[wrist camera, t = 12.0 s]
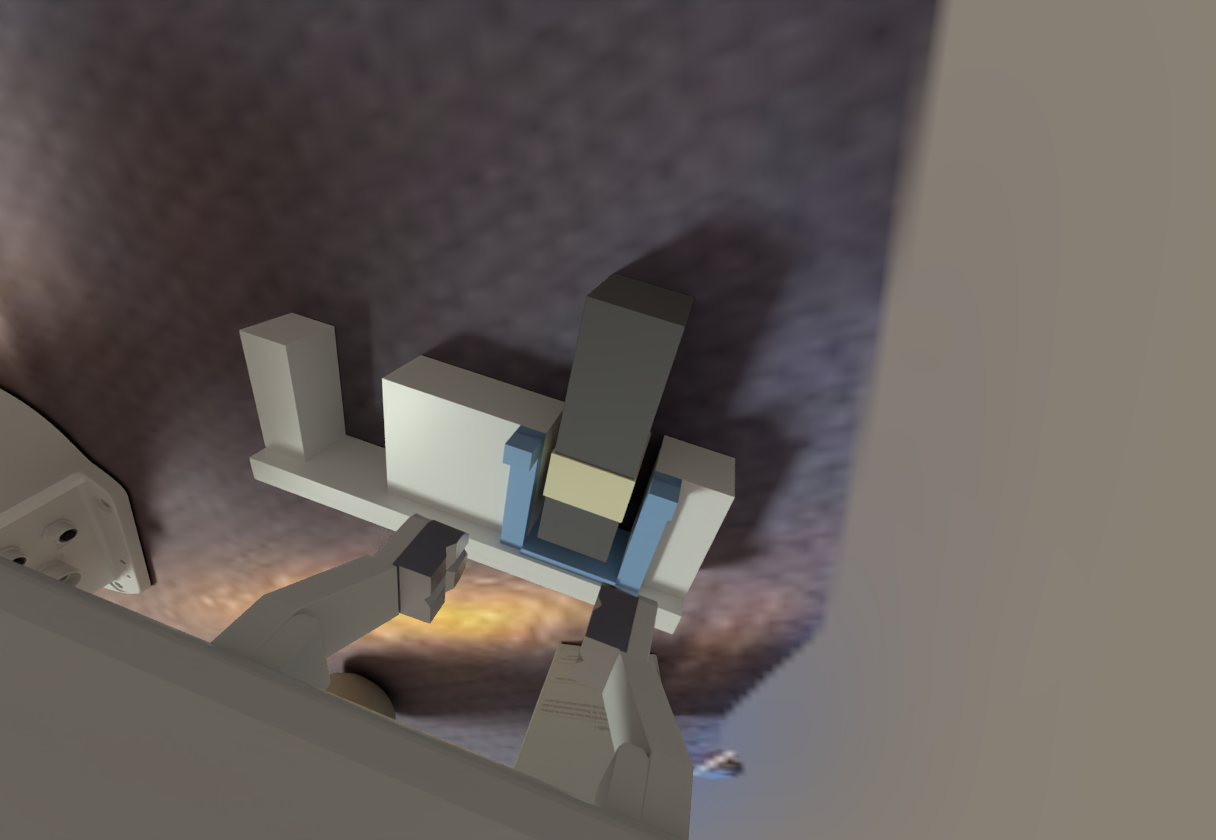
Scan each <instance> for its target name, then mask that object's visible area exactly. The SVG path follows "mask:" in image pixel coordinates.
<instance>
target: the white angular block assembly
mask: <svg viewBox="0 0 1216 840" xmlns="http://www.w3.org/2000/svg"><path fill="white" fill-rule="evenodd" d="M239 333H240V337H241V342H242V346H243V350H244V355H245V359H246V363H247V368H248V372H249V377H250V381H251V385H252V390H253V394H254V399H255V403H256V407H257V412H258V416H259V421H260V425H261V429H262V434H263V438H264V443H265V447H266V448H264V449H263V450H261V451H259V452H258V453H256V454H254V455H252V456H251V457H249V459H250V463H251V467H252V471H253V475H254V479H257V480H259V481H262V482H265V483H267V484H270V485H273V486H275V487H278V488H281V489H283V490H286V491H289V492H291V493H294V494H297V495H300V496H302V497H305V498H308V499H310V500H313V501H316V502H318V503H321V504H324V505H326V506H329V507H332V508H334V509H337V510H340V511H342V512H345V513H348V514H351V515H353V516H356V517H359V518H361V519H364V520H367V521H369V522H372V523H375V524H377V525H380V526H383V527H385V528H388V529H391V530H394V531H397V530H398V529H399V528H400V527H401V526H402V525H403V524H404V522H405V521H406V520H407V519H408V518H409V517H410V516H412V515H414V514H416V513H417V514H420V515H422V516H425V517H428V518H430V519H433V520H436V521H438V522H441V523H443V524H446V525H448V526H451V527H453V528H456V529H458V530H461V531H463V532H466V533H468V534H469V543H468V544H467V545H466V547H465V548H464V549H465V551H466V552H467V554H468V555H467V558H469V559H471V560H474V561H477V562H480V563H482V564H485V565H488V566H490V567H493V568H496V569H498V570H501V571H504V572H506V573H509V574H512V575H514V576H517V577H520V578H523V579H525V580H528V581H531V582H533V583H536V584H539V585H541V586H544V587H547V588H549V589H552V590H555V591H557V592H560V593H563V594H566V595H568V596H571V597H574V598H576V599H579V600H582V601H584V602H587V603H590V604H592V605H595V602H596V599H597V596H598V593H599V590H600V587H601V584H602V582H605V583H608V584H611V585H614V586H616V587H619V588H622V589H625V590H628V591H631V592H634V593H636V594H638V595H641V596H643V597H646V598H649V599H652V600H655V601H657V603H658V609H657V615H656V621H655V626H654V628H657V629H660V630H662V631H665V632H668V633H670V634H673V632H674V630H675V628H676V627H677V625H678V623H679V621H680V619H681V617H682V609H683V601H684V598H685V596H686V594H687V592H688V590H689V588H690V586H691V584H692V582H693V580H694V578H695V576H696V574H697V572H698V570H699V568H700V566H701V564H702V562H703V560H704V558H705V556H706V554H707V552H708V550H709V548H710V546H711V544H712V542H713V540H714V538H715V536H716V534H717V532H718V530H719V528H720V526H721V524H722V522H723V520H724V518H725V516H726V514H727V512H728V510H729V508H730V506H731V504H732V502H733V500H734V498H735V458H733V457H730V456H727V455H724V454H721V453H718V452H715V451H712V450H708V449H705V448H702V447H699V446H696V445H693V444H690V443H687V442H684V441H681V440H678V439H675V438H672V437H669V436H666V435H665V436H664V438H663V441H662V444H661V447H660V450H659V453H658V455H657V458H656V461H655V464H654V467H653V470H652V472H651V475H650V478H649V481H648V484H647V487H646V489H645V492H644V495H643V498H642V501H641V504H640V506H639V509H638V512H637V515H636V518H635V521H634V523H633V526H632V529H631V532H628V531H625V530H622V529H619V528H617V531H616V534H615V537H614V540H613V543H612V546H611V549H610V552H609V555H608V558H607V561H606V562H603V561H600V560H598V559H595V558H592V557H589V556H587V555H584V554H581V553H579V552H576V551H573V550H570V549H568V548H565V547H562V546H559V545H557V544H554V543H551V542H549V541H546V540H543V539H540V538H538V537H537V536H538V531H539V526H540V521H541V516H542V511H543V507H544V502H545V497H546V496H544V495H543V493H544V488H545V483H546V478H547V473H548V468H549V463H550V458H551V453H552V452H553V450H554V448H555V447H556V443H557V438H558V433H559V428H560V424H561V419H562V414H563V409H564V404H565V402H563V401H559V400H556V399H553V398H550V397H547V396H544V395H541V394H538V393H535V392H532V391H529V390H526V389H523V388H520V387H517V386H514V385H511V384H508V383H505V382H502V381H499V380H496V379H493V378H490V377H487V376H483V375H480V374H477V373H474V372H471V371H468V370H465V369H462V368H459V367H456V366H453V365H450V364H447V363H444V362H441V361H438V360H435V359H432V358H429V357H426V356H423V355H420V356H419V357H417V358H415V359H414V360H412V361H410V362H408V363H407V364H405V365H403V366H402V367H400V368H398V369H397V370H395V371H393V372H392V373H390V374H388V375H387V376H385V377H383V378H382V388H383V408H384V427H385V447H386V449H385V448H382V447H380V446H377V445H374V444H371V443H368V442H365V441H363V440H360V439H357V438H354V437H351V436H348V435H346V431H345V422H344V413H343V403H342V394H341V385H340V376H339V366H338V357H337V348H336V338H335V329H334V326H331V325H328V324H325V323H322V322H319V321H316V320H313V319H310V318H307V317H304V316H301V315H298V314H295V313H289V314H286V315H283V316H280V317H277V318H274V319H271V320H268V321H265V322H262V323H259V324H256V325H253V326H250V327H247V328H244V329H240V330H239Z"/></svg>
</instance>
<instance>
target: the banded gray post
mask: <svg viewBox="0 0 1216 840" xmlns="http://www.w3.org/2000/svg"><path fill="white" fill-rule="evenodd" d="M694 298H695V297H692V296H688V295H685V294H682V293H678V292H675V291H672V290H668V289H665V288H662V287H659V286H655V285H652V284H649V283H645V282H642V281H639V280H635V279H632V278H629V277H625V276H622V275H619V274H615V273H613V274H612V275H611V276H610V277H609V278H607V279H606V280H605V281H604V282H603V283H601V284H600V285H599V286H598V287H597V288H596V289H594V290H593V291H592V292H591V293H590V294H589V295H587V297H586V302H585V307H584V311H583V316H582V321H581V326H580V331H579V336H578V341H577V346H576V350H575V355H574V360H573V365H572V370H571V375H570V380H569V385H568V389H567V394H566V399H565V404H564V409H563V414H562V419H561V424H560V428H559V433H558V438H557V443H556V447H555V448H554V450H553V452H552V453H551V458H550V463H549V468H548V473H547V478H546V483H545V488H544V493H543V495H544V496H546V497H545V502H544V507H543V511H542V516H541V521H540V526H539V531H538V536H537V537H538V538H540V539H543V540H546V541H549V542H551V543H554V544H557V545H559V546H562V547H565V548H568V549H570V550H573V551H576V552H579V553H581V554H584V555H587V556H589V557H592V558H595V559H598V560H600V561H603V562H606V561H607V558H608V555H609V552H610V549H611V546H612V543H613V540H614V537H615V534H616V531H617V528H618V525H619V522H620V523H622V520H623V517H624V515H625V512H626V509H627V506H628V503H629V500H630V497H631V494H632V491H633V488H634V485H635V482H636V479H637V476H638V473H639V470H640V467H641V464H642V461H643V458H644V454H645V451H646V448H647V445H648V442H649V439H650V436H651V432H650V430H651V427H652V424H653V421H654V418H655V415H656V412H657V409H658V406H659V403H660V400H661V397H662V394H663V391H664V388H665V385H666V382H667V379H668V376H669V373H670V370H671V367H672V365H673V362H674V359H675V356H676V353H677V350H678V347H679V344H680V341H681V338H682V335H683V332H684V329H685V326H686V323H687V320H688V317H689V314H690V311H691V308H692V305H693V301H694Z"/></svg>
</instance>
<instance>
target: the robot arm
mask: <svg viewBox="0 0 1216 840" xmlns="http://www.w3.org/2000/svg"><path fill="white" fill-rule="evenodd" d="M468 543H469V534H468V533H466V532H463V531H461V530H458V529H456V528H453V527H451V526H448V525H446V524H443V523H441V522H438V521H436V520H433V519H430V518H428V517H425V516H422V515H420V514H417V513H416V514H414V515H412V516H410V517H409V518H408V519H407V520H406V521H405V522H404V524H403V525H402V526H401V527H400V528H399V529H398V530H397V531H396V532H395V533H394V534H393V535H392V536H391V537H390V538H389V539H388V541H387V542H386V543H385V544H384V545H383V546H382V547H381V548H380V549H379V550H378V551H377V552H376V553H375V554H374V555H373V557H372V556H369V555H366V556H363V557H361V558H358V559H355V560H353V561H350V562H348V563H345V564H343V565H340V566H337V567H335V568H332V569H330V570H327V571H325V572H322V573H319V574H317V575H314V576H312V577H309V578H307V579H304V580H301V581H299V582H296V583H294V584H291V585H289V586H286V587H283V588H281V589H278V590H276V591H273V592H271V593H268V594H265V595H263V596H262V597H261V598H260V599H259V600H258V601H256V602H255V603H254V604H253V605H252V606H251V607H250V608H249V609H248V610H246V611H245V612H244V613H243V614H242V615H241V616H240V617H239V618H238V619H236V620H235V621H234V622H233V623H232V624H231V625H230V626H229V627H228V628H226V629H225V630H224V631H223V632H222V633H221V634H220V635H219V636H218V637H216V638H215V639H214V640H213V641H212V642H211V643H209V642H206V641H204V640H202V639H199V638H197V637H194V636H192V635H190V634H187V633H185V632H182V631H180V630H178V629H175V628H173V627H170V626H168V625H165V624H163V623H161V622H158V621H156V620H153V619H151V618H149V617H146V616H144V615H141V614H139V613H137V612H134V611H132V610H129V609H127V608H124V607H122V606H120V605H117V604H115V603H112V602H110V601H108V600H105V599H103V598H100V597H98V596H96V595H93V593H95V592H96V591H98V590H100V589H101V588H103V587H104V588H107V589H110V590H113V591H117V592H122V593H128V594H138V593H141V592H143V591H144V590H146V589H148V588H149V587H150V586H151V584H150V579H149V575H148V572H147V568H146V564H145V560H144V556H143V552H142V549H141V545H140V541H139V537H138V533H137V529H136V526H135V522H134V518H133V514H132V510H131V506H130V503H129V499H128V495H127V493H126V491H125V490H124V489H123V487H122V486H121V485H120V484H119V483H117V482H116V481H115V480H114V479H113V478H111V477H110V476H109V475H108V474H106V473H105V472H104V471H102V470H101V469H100V468H98V467H97V466H96V465H94V464H93V463H92V462H90V461H89V460H88V459H87V458H86V457H85V456H84V455H83V454H82V453H81V452H80V451H79V450H78V449H77V448H76V447H75V446H74V445H73V444H72V443H71V442H70V441H69V440H68V439H67V438H66V437H65V436H64V435H63V434H62V433H61V432H60V431H59V430H58V429H57V428H55V427H54V426H53V425H52V424H51V423H50V422H48V421H47V420H46V419H45V418H44V417H42V416H41V415H40V414H38V413H37V412H36V411H35V410H33V409H32V408H30V407H29V406H28V405H26V404H25V403H23V402H22V401H20V400H19V399H17V398H15V397H14V396H12V395H10V394H9V393H7V392H5V391H3V390H2V389H0V840H688V838H689V824H690V810H691V795H692V782H693V768H694V767H693V765H692V762H691V760H690V757H689V754H688V752H687V749H686V746H685V744H684V741H683V739H682V736H681V733H680V731H679V728H678V725H677V723H676V720H675V718H674V715H673V712H672V710H671V707H670V704H669V702H668V699H667V697H666V694H665V691H664V689H663V686H662V683H661V681H660V678H659V676H658V673H657V670H656V668H655V665H654V664H653V663H651V662H649V661H648V660H649V655H650V649H651V643H652V638H653V632H654V626H655V621H656V615H657V609H658V603H657V601H655V600H652V599H649V598H646V597H643V596H641V595H638V594H636V593H634V592H631V591H628V590H625V589H622V588H619V587H616V586H614V585H611V584H608V583H605V582H602V584H601V587H600V590H599V593H598V596H597V599H596V602H595V605H594V608H593V611H592V614H591V617H590V620H589V623H588V626H587V629H586V632H585V636H584V639H583V642H582V645H581V648H580V651H579V654H578V657H577V661H576V664H575V667H574V670H573V673H572V676H571V679H573V680H576V681H578V682H580V683H583V684H585V685H587V686H590V687H592V688H595V689H597V690H599V691H602V692H603V693H602V696H603V700H604V705H605V709H606V714H607V719H608V723H609V728H610V732H611V737H612V742H613V746H614V751H615V754H614V756H613V758H612V760H611V762H610V764H609V766H608V768H607V770H606V771H605V773H604V775H603V777H602V779H601V781H600V783H599V785H598V787H597V788H596V790H595V793H594V797H593V801H589V800H587V799H584V798H582V797H580V796H577V795H575V794H572V793H570V792H568V791H565V790H563V789H560V788H558V787H556V786H553V785H551V784H548V783H546V782H544V781H541V780H539V779H536V778H534V777H532V776H529V775H527V774H524V773H522V772H519V771H517V770H515V769H512V768H510V767H507V766H505V765H503V764H500V763H498V762H495V761H493V760H491V759H488V758H486V757H483V756H481V755H479V754H476V753H474V752H471V751H469V750H467V749H464V748H462V747H459V746H457V745H455V744H452V743H450V742H447V741H445V740H442V739H440V738H438V737H435V736H433V735H430V734H428V733H426V732H423V731H421V730H418V729H416V728H414V727H411V726H409V725H406V724H404V723H402V722H399V721H397V720H394V719H392V718H390V717H387V716H385V715H382V714H380V713H378V712H375V711H373V710H370V709H368V708H366V707H363V706H361V705H358V704H356V703H353V702H351V701H349V700H346V699H344V698H341V697H339V696H337V695H334V694H332V693H329V692H327V691H325V690H326V689H327V687H328V686H329V685H330V683H331V681H330V673H329V668H328V663H327V657H328V656H330V655H332V654H334V653H335V652H337V651H339V650H340V649H342V648H344V647H345V646H347V645H349V644H350V643H352V642H354V641H355V640H357V639H359V638H360V637H362V636H364V635H365V634H367V633H369V632H371V631H372V630H374V629H376V628H377V627H379V626H381V625H382V624H384V623H386V622H387V621H389V620H391V619H392V618H394V617H396V616H397V615H399V613H402V614H404V615H407V616H410V617H413V618H416V619H418V620H421V621H424V622H427V623H431V621H432V620H433V618H434V617H435V615H436V614H437V612H438V611H439V609H440V608H441V606H442V605H443V603H444V602H445V592H447V591H449V590H451V589H453V588H454V587H455V586H456V584H457V582H458V581H459V579H460V577H461V575H462V573H463V571H464V569H465V566H466V562H467V555H468V554H467V552H466V551H465V549H464V548H465V547H466V545H467V544H468Z"/></svg>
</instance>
